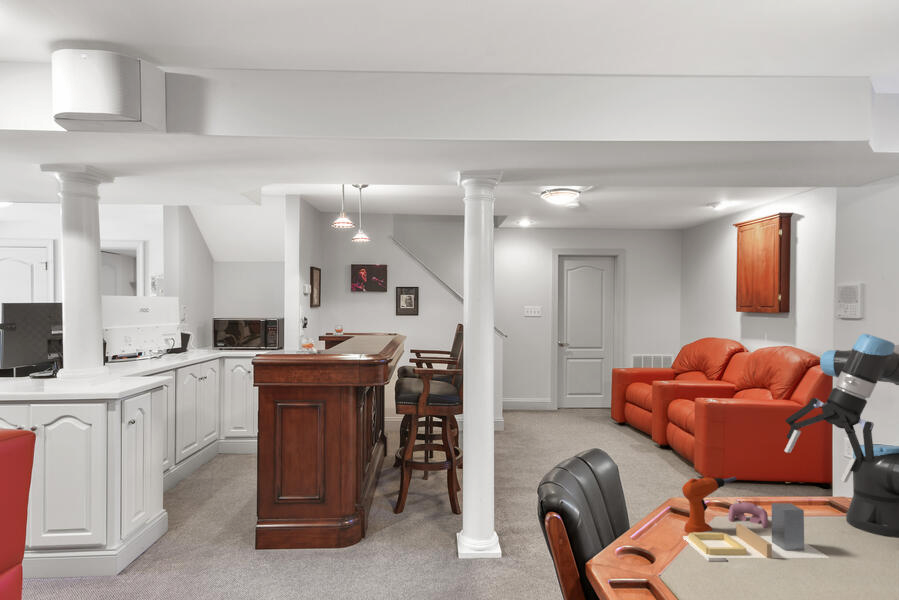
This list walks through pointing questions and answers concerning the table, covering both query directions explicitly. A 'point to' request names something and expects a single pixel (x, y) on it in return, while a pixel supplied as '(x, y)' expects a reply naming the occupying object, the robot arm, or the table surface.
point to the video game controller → (744, 507)
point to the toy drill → (700, 501)
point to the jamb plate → (743, 546)
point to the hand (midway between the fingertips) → (814, 466)
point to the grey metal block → (788, 526)
